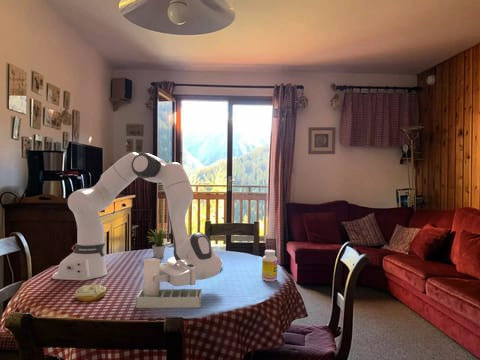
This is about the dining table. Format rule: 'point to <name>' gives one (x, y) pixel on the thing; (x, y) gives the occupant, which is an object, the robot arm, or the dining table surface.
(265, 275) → the supplement bottle
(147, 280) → the beige tall cylinder
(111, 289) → the dining table surface
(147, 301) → the rack
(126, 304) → the dining table surface
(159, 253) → the house plant
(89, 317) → the dining table surface
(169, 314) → the dining table surface
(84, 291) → the decorated donut
